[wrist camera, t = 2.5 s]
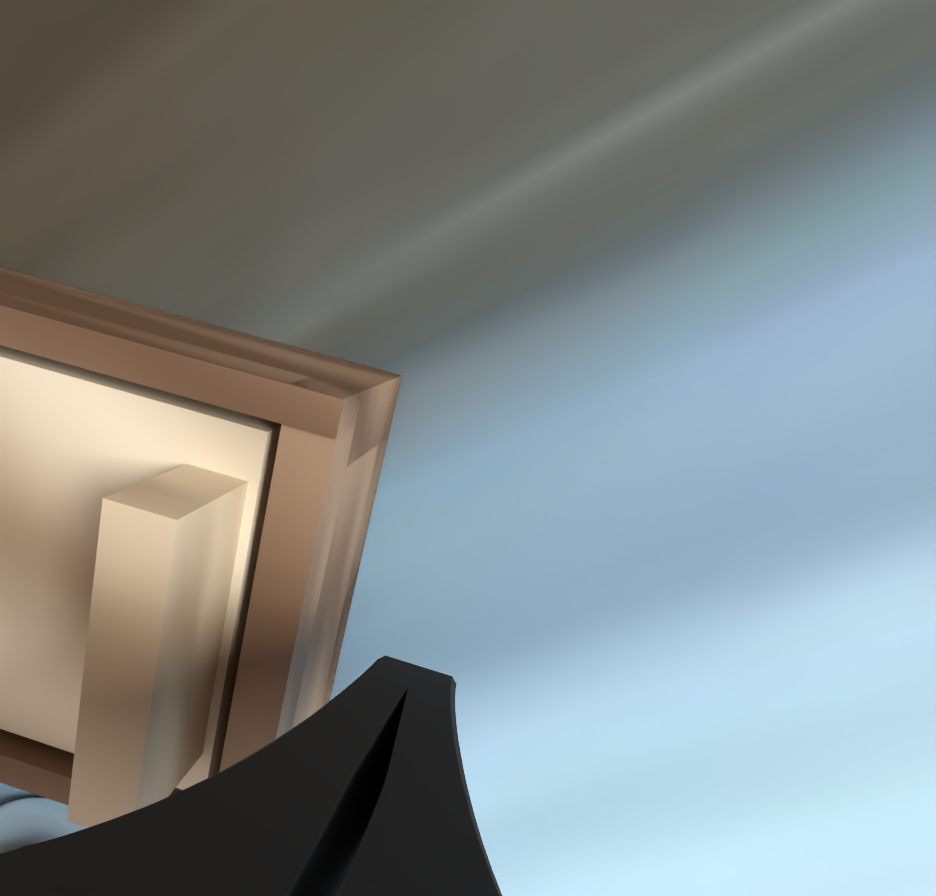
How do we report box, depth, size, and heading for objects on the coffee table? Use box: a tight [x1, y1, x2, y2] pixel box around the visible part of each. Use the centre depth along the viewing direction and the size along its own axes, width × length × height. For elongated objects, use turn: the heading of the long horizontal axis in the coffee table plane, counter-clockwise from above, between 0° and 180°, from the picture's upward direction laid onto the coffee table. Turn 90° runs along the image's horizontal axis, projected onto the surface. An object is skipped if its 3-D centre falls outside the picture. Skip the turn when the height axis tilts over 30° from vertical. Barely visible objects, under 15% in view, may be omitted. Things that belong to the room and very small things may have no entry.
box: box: [0, 268, 401, 805], centre depth 14 cm, size 10×11×4 cm
